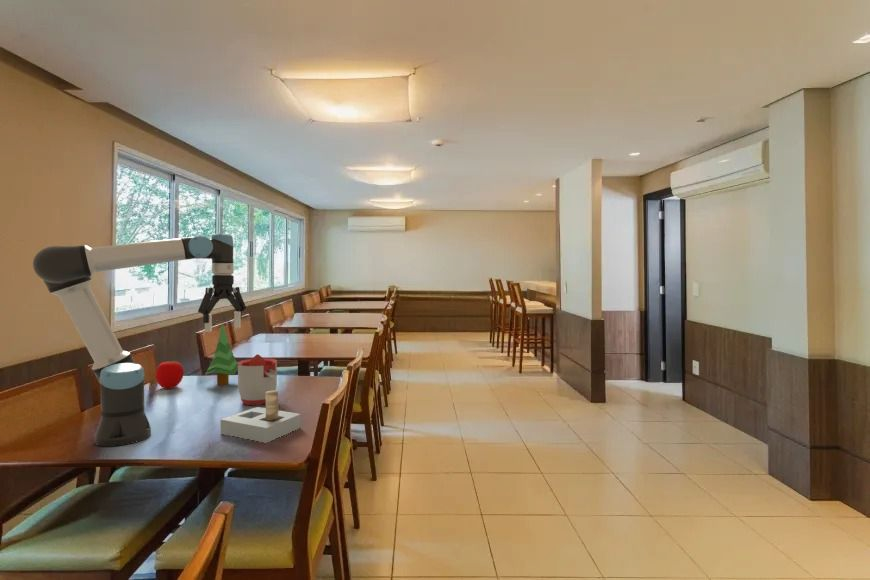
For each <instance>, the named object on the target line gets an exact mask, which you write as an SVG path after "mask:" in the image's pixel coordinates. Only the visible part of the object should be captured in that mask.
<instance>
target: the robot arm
mask: <svg viewBox="0 0 870 580" xmlns="http://www.w3.org/2000/svg"><path fill="white" fill-rule="evenodd" d="M194 259H203V260H204V259H207V260H210V259H211V274H212V276H211V283H212V287H205V291H204V296H203V297H202V300H201V303H200V306H198V307H199V308H198V311H197V313H200V314H202V317H203V318H202V319H203V324H204V332H206V333H212V332H213V329H212V328H213V327H212V325H213V319H212V318H213V317H212V316H213V315H212V313H211V312H212V310H213V309H214V307H215V306H216V304H217V303H218V302H219V301H220V300H225V299H226V300H228V302H229V303H230V305H231V306H232V307H233V308H234V310H235V311H233V312H234V313H233V314H234V315H233V317H234V318H233V324H234V325H233V326H234V328H235V329H241V328H242V319H243V317H242V316H243V312H245V311H244V310H246V309H247V306H246V304H245V301H244V299H243V296H242V294H241V290H240V287H239V286H233V285H234V284H235V283H234V281H235V280H234V278H235V277H234V275H233V274H234V238H233V236H232V235H231V234H229V233H228V234H227V233H212V235H211V238H208V237H207V236H205V235H202V234H201V235H194V236H188V237H187V236H186V237H177V238H167V239H160V240H152V241H151V240H150V241H143V242H142V241H139V242H133V243H124V244H115V245H114V244H113V245H105V246H95V247H90V246H88V245H83V244H82V245H69V246H67V245H64V246H63V245H52V246H51V245H50V246H47V247H45V248H42V249H41V250H39V251H38V252H37V253H36V255H35V256H34V258H33V259H32V260H33V261H32V268H33V271H34V273H35V274H36V275H37V276H38V277H39V278H40V279H41V280H42V281H43V284H44V285H45V286H46V289H47V290H48V292H49V294H51V295H53V296H54V297H55V296H56V297H58V298H59V300H60V302H61V304H62V305H63V307H64V309H65V310H66V312H67V314H68V316H69V317H70V320H71V321H72V323H73V325H74V327H75V329H76V331H77V333H78V334H79V336H80V338H81V340H82V343H83V344H84V345H85V347H86V349H87V352H88V353H89V355H90V356H91V358H92V360H93V362H94V363H93V365H92V367H91V370H92V372H93V373H94V375H95V378H96V379H97V381H98V383H99V384H100V386H99V387H100V419H99V422H98V425H97V428H96V432H95V434H94V444H95V443H96V444H98V445H103V446H102V447H107V446H108V447H114V446H113V445H121V446H124V445H123V444H127V445H129V444H128V443H131V444H133V443H132V442H135V443H137V442H136V441H138V442H141V441H143V439H144V440H146V439H147V437H148V438H149V437H150V436H151V435H152V427H151V425H150V422H149V419H148V417H147V414H146V411H145V375H146V374H145V371H144V367H143V366H142V365H141V364H139V363H136V362H135V359H134V358H133V356H132V354H131V352H130V351H127V350H124V349H123V348H122V346H121V344H120V342H119V339H118V338H117V336H116V335H115V332H114V330H113V329H112V327H111V325H110V323H109V321H108V318H107V317H106V316H105V314H104V312H103V310H102V308H101V306H100V304H99V302H98V300H97V299H96V296H95V294H94V293H93V291H92V289H91V283H92V281H93V279H92V277H93V276H94V275H95V274H96V273H98V272H105V271H112V270H120V269H127V268H135V267H142V266H150V265H156V264H163V263H164V264H165V263H172V262H177V261H185V260H186V261H187V260H194ZM145 438H146V439H145ZM140 440H141V441H140ZM96 444H95V445H96ZM98 445H97V446H98Z"/></svg>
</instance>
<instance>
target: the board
mask: <svg viewBox="0 0 870 580" xmlns="http://www.w3.org/2000/svg"><path fill="white" fill-rule="evenodd" d="M278 417H279V419H278V420H277V421H275V422H267V421H266V407H260V406H255V407H252V408H250V409H247V410H243V411H241V412H238V413H235V414H232V415H229V416H227V417H226V416H225V417H223V418H220V435H222V434H224V435H223V436H227V435H230V436H229V437H232V436H235V437H234V438H236V437H240V438H239V439H241V438H245V439H244V440H246V439H250V440H249V441H251V440H255V441H254V442H256V441H261V442H266V443H267V442H269V441H271V440H273V439H276V438H278V437H280V438H282V437H281V436H283V435H285V436H287V435H289V434H291V433H293V432H292V431H294V430H296V431H298V430H300V429H301V428H302V424H301V423H302V416H301V413H297V412H290V411H284V410H279V409H278ZM299 428H300V429H299ZM297 429H298V430H297ZM290 432H291V433H290ZM294 432H295V431H294ZM288 433H289V434H288ZM286 434H287V435H286ZM283 437H284V436H283ZM278 439H279V438H278ZM276 440H277V439H276ZM261 442H260V443H261ZM269 443H270V442H269ZM267 444H268V443H267Z"/></svg>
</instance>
